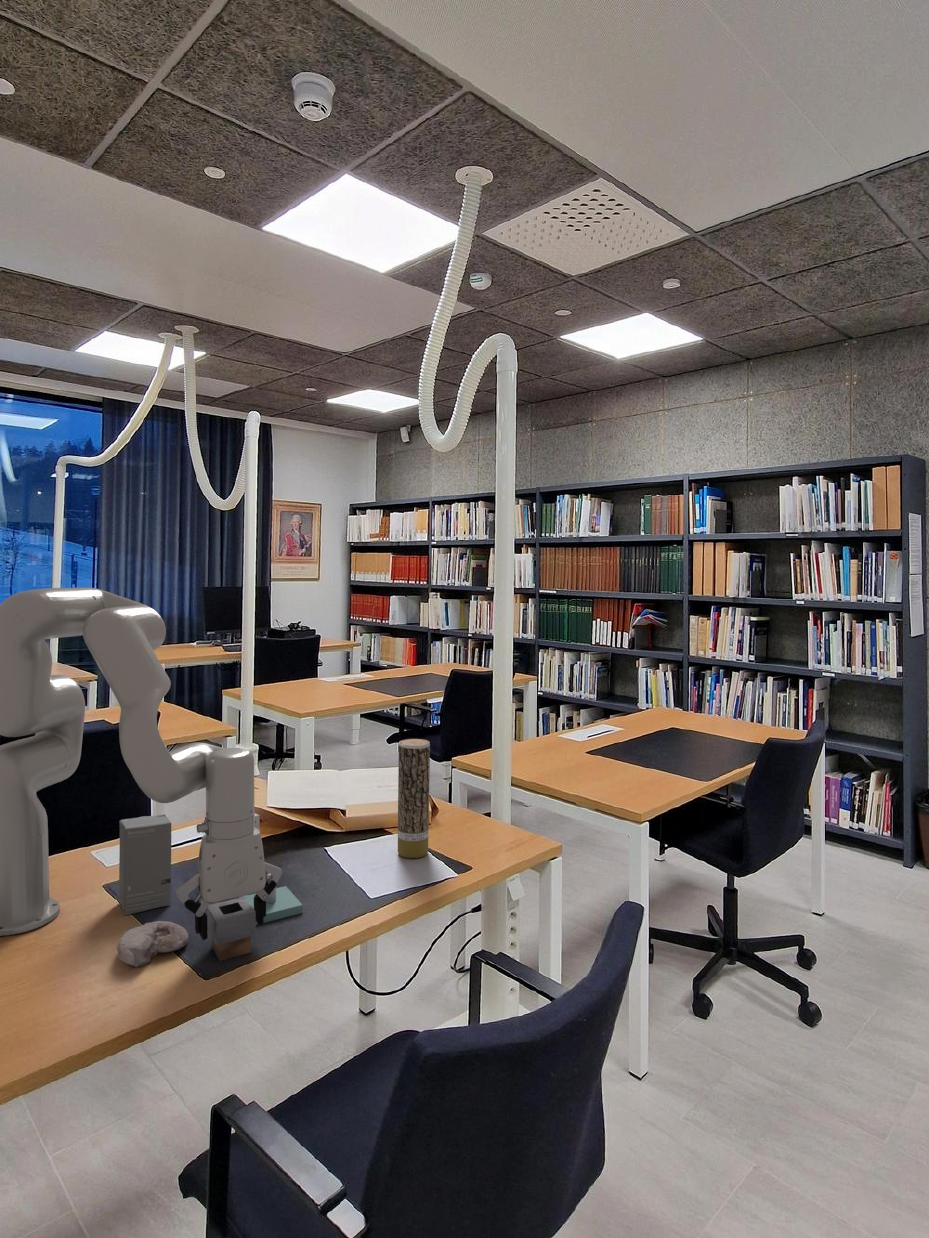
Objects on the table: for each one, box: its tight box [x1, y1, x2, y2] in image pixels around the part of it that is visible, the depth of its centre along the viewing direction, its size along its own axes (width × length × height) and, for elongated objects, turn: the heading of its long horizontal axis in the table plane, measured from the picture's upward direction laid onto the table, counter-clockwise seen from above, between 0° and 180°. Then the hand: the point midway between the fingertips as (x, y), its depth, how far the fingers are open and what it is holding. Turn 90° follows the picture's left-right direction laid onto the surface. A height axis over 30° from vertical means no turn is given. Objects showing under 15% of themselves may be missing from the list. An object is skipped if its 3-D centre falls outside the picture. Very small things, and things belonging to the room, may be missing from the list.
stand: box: [211, 936, 252, 962], centre depth 118 cm, size 5×5×4 cm
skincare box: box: [118, 814, 172, 916], centre depth 134 cm, size 8×7×16 cm
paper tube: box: [397, 738, 431, 859], centre depth 159 cm, size 7×7×25 cm
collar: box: [206, 897, 257, 945], centre depth 118 cm, size 6×6×4 cm
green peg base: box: [239, 873, 304, 926], centre depth 133 cm, size 9×9×6 cm
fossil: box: [116, 920, 190, 967], centre depth 117 cm, size 12×4×10 cm
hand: (231, 928), depth 118 cm, fingers open, 8 cm apart
